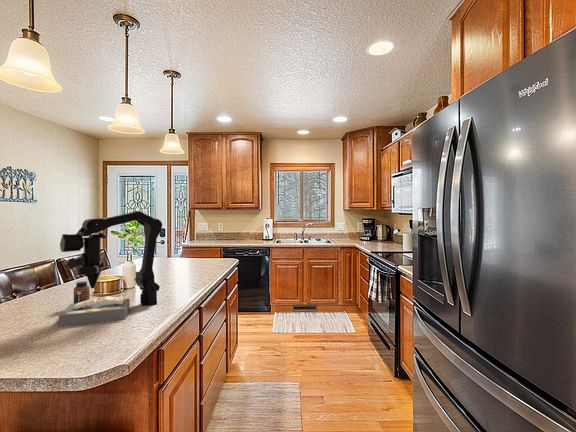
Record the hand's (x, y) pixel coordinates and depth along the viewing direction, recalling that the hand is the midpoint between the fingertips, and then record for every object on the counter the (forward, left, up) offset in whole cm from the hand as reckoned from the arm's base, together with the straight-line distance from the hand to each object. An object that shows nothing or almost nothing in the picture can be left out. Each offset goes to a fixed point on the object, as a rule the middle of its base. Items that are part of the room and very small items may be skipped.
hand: (92, 288), depth 124 cm
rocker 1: (+2, 0, -6) cm, 6 cm away
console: (-2, 0, -12) cm, 12 cm away
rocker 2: (-8, 0, -6) cm, 10 cm away
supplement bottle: (+7, -17, -12) cm, 22 cm away
